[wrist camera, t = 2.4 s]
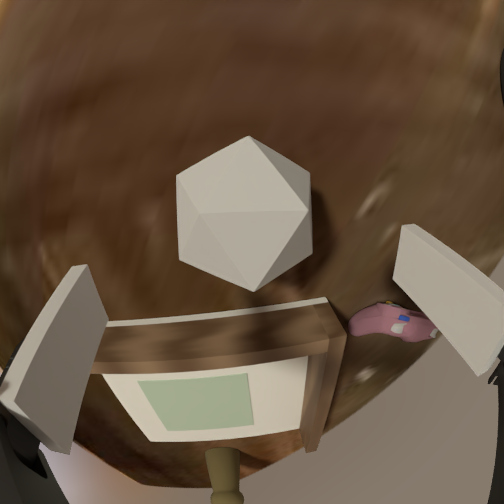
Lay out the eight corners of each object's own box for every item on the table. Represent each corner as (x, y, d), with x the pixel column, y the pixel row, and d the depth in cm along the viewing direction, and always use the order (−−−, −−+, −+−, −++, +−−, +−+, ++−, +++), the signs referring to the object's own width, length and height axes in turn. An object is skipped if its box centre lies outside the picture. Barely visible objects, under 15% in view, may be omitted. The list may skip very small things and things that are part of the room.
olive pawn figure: (201, 448, 37) (204, 506, 28) (238, 445, 38) (246, 504, 28) (208, 460, 40) (212, 512, 30) (241, 457, 41) (249, 509, 31)
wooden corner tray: (325, 296, 25) (347, 335, 21) (307, 422, 36) (316, 450, 32) (78, 322, 23) (60, 361, 19) (150, 437, 34) (148, 465, 30)
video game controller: (411, 303, 30) (455, 312, 23) (402, 339, 30) (444, 354, 23) (352, 288, 28) (399, 298, 21) (340, 331, 27) (384, 351, 21)
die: (253, 265, 24) (354, 280, 16) (154, 280, 18) (237, 316, 11) (250, 167, 23) (350, 144, 15) (149, 159, 18) (230, 107, 10)
